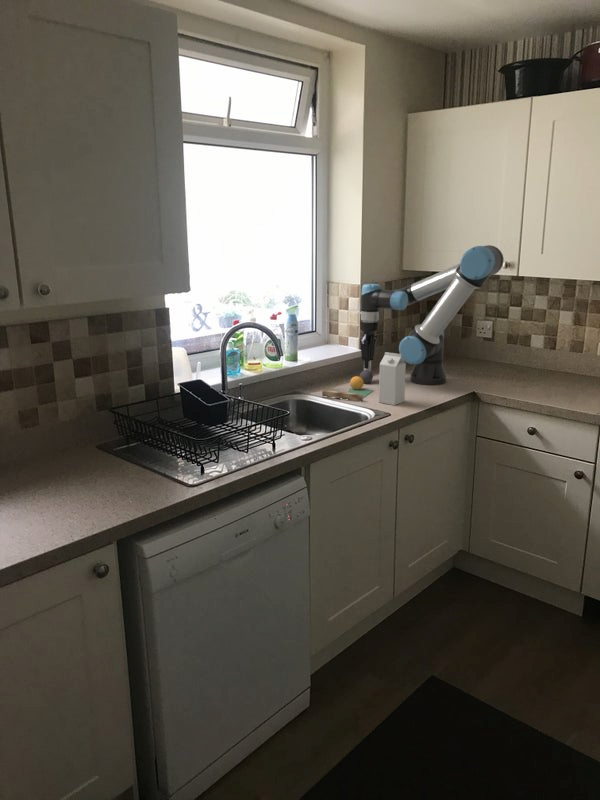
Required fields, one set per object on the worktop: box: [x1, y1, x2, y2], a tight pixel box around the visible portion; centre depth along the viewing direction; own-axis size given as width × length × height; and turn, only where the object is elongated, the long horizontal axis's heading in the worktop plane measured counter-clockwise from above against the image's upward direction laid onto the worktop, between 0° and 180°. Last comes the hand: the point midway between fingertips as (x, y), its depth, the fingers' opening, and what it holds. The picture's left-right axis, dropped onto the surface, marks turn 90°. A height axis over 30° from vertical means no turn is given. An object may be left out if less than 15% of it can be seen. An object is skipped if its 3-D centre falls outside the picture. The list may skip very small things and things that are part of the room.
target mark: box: [348, 387, 374, 399], centre depth 263 cm, size 14×14×1 cm
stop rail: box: [321, 389, 364, 402], centre depth 255 cm, size 16×2×2 cm, turn 65°
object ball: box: [349, 375, 364, 390], centre depth 268 cm, size 6×6×6 cm
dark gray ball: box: [359, 369, 374, 384], centre depth 279 cm, size 6×6×6 cm
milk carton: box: [378, 351, 407, 406], centre depth 247 cm, size 7×7×19 cm
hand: (367, 375), depth 283 cm, fingers closed
